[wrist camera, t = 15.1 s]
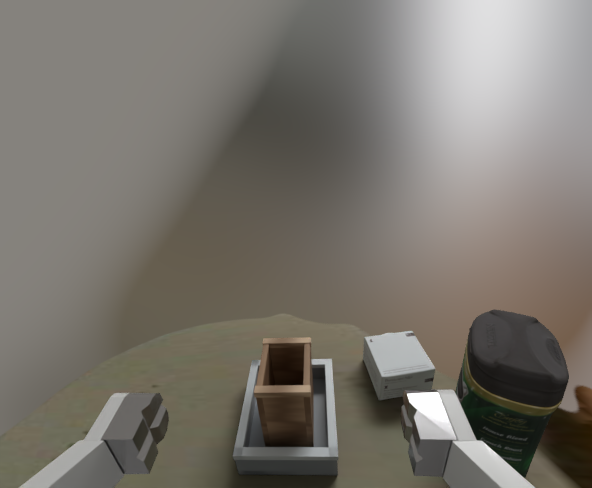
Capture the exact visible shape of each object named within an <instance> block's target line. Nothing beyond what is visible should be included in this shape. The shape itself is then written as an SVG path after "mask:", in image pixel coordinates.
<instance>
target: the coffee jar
mask: <svg viewBox="0 0 592 488" xmlns="http://www.w3.org/2000/svg"><path fill="white" fill-rule="evenodd" d="M568 379H569V374H568V370H567V365H566V362H565V358H564V356H563V353H562V351H561V349H560V346H559V343H558V342H557V340H556V338H555V337H554V335H553V334H552V333H551V332H550V331H549V330H548V329H547V328H546V327H545V326H544V325H542V324H541V323H540V322H538V320H537V319H536V318H534V317H530V316H526V315H521V314H516V313H512V312H506V311H500V310H491V311H489V312H486V313H484V314H481V315H480V316H478V317H477V318H476V319H475V320H474V322H473V324H472V326H471V328H470V332H469V335H468V340H467V345H466V349H465V354H464V359H463V363H462V368H461V372H460V376H459V379H458V383H457V387H456V391H455V393H456V395H457V397H458V400H459V402H460V404H461V406H462V409H463V411H464V413H465V415H466V417H467V420H468V422H469V424H470V426H471V429H472V431H473V433H474V435H475V437H476V440H479V441H483V442H484V443H485V444H486V445H487V446H489V447H490V448H491V449H492V450H493V451H494V452H495V453H497V454H498V455H499V456H500V457H501V458H502V459H503V460H504V461H506V462H507V463H508V464H509V465H510V466H511V467H512V468H513V469H515V470H516V471H517V472H518V473H519V474H520V475H521V476H522V477H524V478H525V476H526V474H527V472H528V469H529V466H530V464H531V461H532V458H533V456H534V454H535V451H536V449H537V446H538V444H539V442H540V439H541V437H542V435H543V433H544V430H545V428H546V425H547V423H548V421H549V419H550V417H551V415H552V413H553V412H554V411H555V410H556V409H557V408H558V406H559V405H560V404H561V401H562V398H563V396H564V392H565V389H566V386H567V383H568Z"/></svg>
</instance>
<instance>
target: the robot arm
mask: <svg viewBox="0 0 592 488" xmlns="http://www.w3.org/2000/svg"><path fill="white" fill-rule="evenodd" d="M162 401H163V399H162V397H161V395H160V393H115V394H113V395H112V396H111V397H110V398H109V400H108V402H107V403H106V405H105V406H104V408H103V410H102V411H101V413H100V415H99V416H98V418H97V419H96V421H95V423H94V424H93V426H92V428H91V429H90V431H89V432H88V434H87V436H86V437H85V439H84V440H80V441H78V442H77V443H75V444H74V445H73V446H72V447H70V448H69V449H68V450H67V451H65V452H64V453H63V454H61V455H60V456H59V457H58V458H56V459H55V460H54V461H52V462H51V463H50V464H49V465H47V466H46V467H45V468H44V469H42V470H41V471H40V472H38V473H37V474H36V475H35V476H33V477H32V478H31V479H29V480H28V481H27V482H26V483H24V484H23V485H22V486H21V487H19V488H113V487H114V486H115V485H116V484H117V483H118V482H119V481H120V480H121V479H122V478H123V476H124V475H123V474H150V471H151V469H152V466H153V464H154V461H155V459H156V456H157V454H158V449H157V444H158V443H159V442H160V441H161V440H162V439H164V436H165V434H166V431H167V427H168V421H169V417H168V412H167V409H166V408H165V407H164V406H162V405H161V403H162ZM403 401H404V405H403V406H402V407H401V423H402V429H403V433H404V438H405V439H406V440H407V441H408V442H409V443H410V444H409V451H408V454H409V457H410V461H411V465H412V469H413V473H414V476H440V477H443V479H444V480H445V481H446V483H447V484H448V485H449V486H450V488H535V487H534V486H533V485H532V484H530V483H529V482H528V481H527V480H526V479H525V478H524V477H522V476H521V475H520V474H519V473H518V472H517V471H516V470H515V469H513V468H512V467H511V466H510V465H509V464H508V463H507V462H506V461H504V460H503V459H502V458H501V457H500V456H499V455H498V454H497V453H495V452H494V451H493V450H492V449H491V448H490V447H489V446H487V445H486V444H485V443H484V442H483V441H479V440H476V437H475V435H474V433H473V431H472V429H471V426H470V424H469V422H468V420H467V417H466V415H465V413H464V411H463V409H462V406H461V404H460V402H459V400H458V397H457V395H456V393H455V392H454V391H453V390H435V389H434V390H404V392H403Z"/></svg>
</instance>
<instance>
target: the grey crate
mask: <svg viewBox="0 0 592 488" xmlns="http://www.w3.org/2000/svg"><path fill="white" fill-rule="evenodd" d="M311 360H312V375H313V390H314V447H265V443H264V437H263V432H262V427H261V422H260V417H259V411H258V406H257V401H256V398H255V397H254V389H255V386H256V384H257V378H258V372H259V367H260V361H261V360H252V364H251V369H250V374H249V379H248V384H247V389H246V393H245V398H244V403H243V408H242V413H241V418H240V423H239V428H238V432H237V437H236V442H235V447H234V452H233V459H234V460H235V462H236V466H237V469H238V473H239V474H243V475H338V471H337V460H338V447H337V432H336V417H335V402H334V387H333V372H332V359H311Z"/></svg>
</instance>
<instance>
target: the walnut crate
mask: <svg viewBox="0 0 592 488" xmlns="http://www.w3.org/2000/svg"><path fill="white" fill-rule="evenodd" d="M254 397H255V398H256V401H257V406H258V411H259V417H260V422H261V427H262V432H263V437H264V443H265V447H314V390H313V375H312V360H311V337H309V338H264V339H263V350H262V355H261V361H260V367H259V372H258V378H257V384H256V386H255V389H254Z"/></svg>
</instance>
